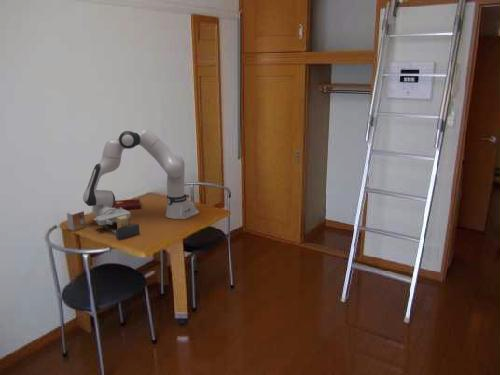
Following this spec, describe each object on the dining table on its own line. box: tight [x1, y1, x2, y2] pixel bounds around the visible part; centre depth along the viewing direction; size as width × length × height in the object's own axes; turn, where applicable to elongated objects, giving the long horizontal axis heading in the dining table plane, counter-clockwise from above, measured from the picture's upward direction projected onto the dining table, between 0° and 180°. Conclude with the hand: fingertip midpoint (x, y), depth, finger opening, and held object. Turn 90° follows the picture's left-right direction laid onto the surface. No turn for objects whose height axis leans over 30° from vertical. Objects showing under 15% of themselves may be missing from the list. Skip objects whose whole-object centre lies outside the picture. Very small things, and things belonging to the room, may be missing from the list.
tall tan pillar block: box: [116, 216, 129, 229], centre depth 247 cm, size 4×4×10 cm
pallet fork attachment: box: [102, 222, 140, 241], centre depth 250 cm, size 13×24×6 cm, turn 44°
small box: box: [66, 209, 86, 232], centre depth 252 cm, size 8×6×10 cm
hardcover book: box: [113, 198, 142, 211], centre depth 291 cm, size 12×21×4 cm, turn 107°
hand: (119, 221), depth 248 cm, fingers open, 8 cm apart
